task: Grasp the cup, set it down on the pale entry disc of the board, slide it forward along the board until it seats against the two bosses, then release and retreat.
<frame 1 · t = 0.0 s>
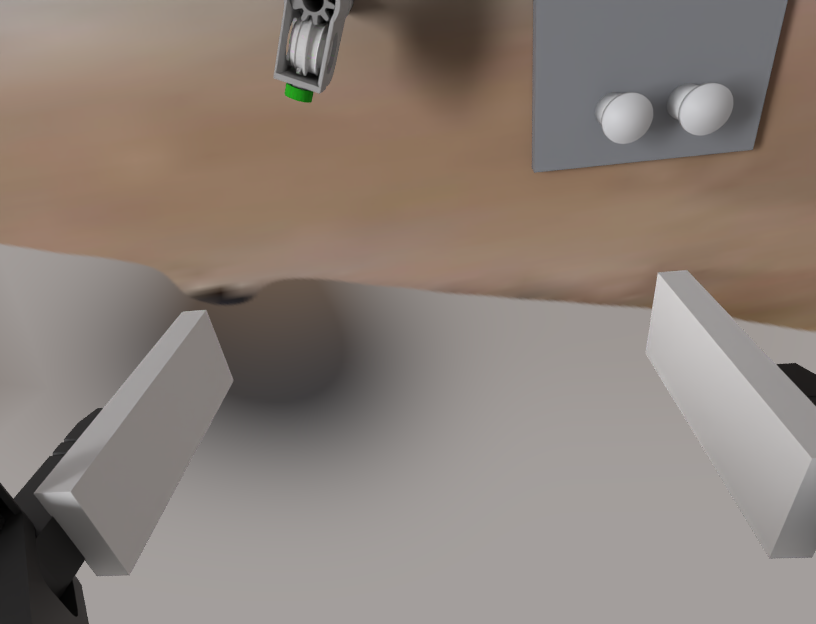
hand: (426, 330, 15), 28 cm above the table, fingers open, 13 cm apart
mechanical component: (342, 0, 35), on the table
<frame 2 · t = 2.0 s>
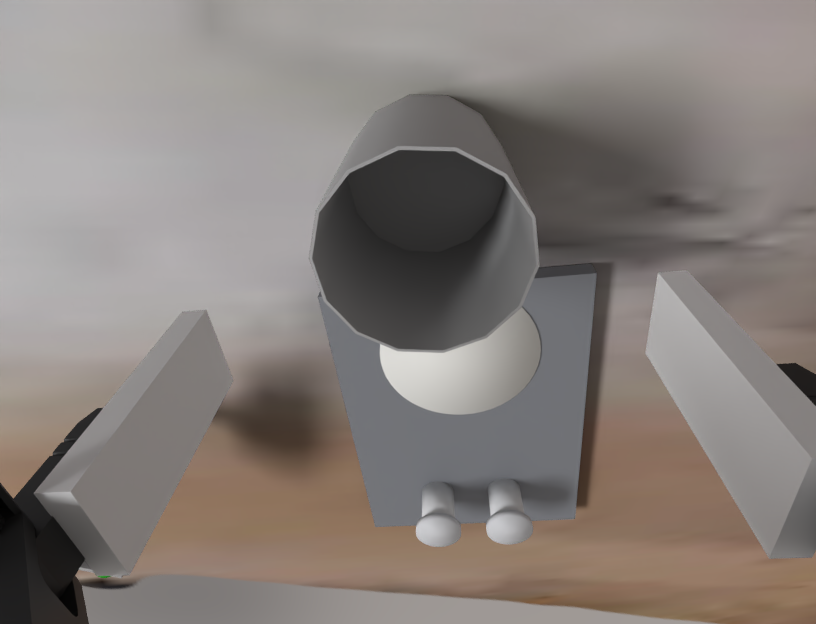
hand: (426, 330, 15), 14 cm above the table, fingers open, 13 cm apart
cup: (425, 176, 27), on the table
board: (464, 411, 36), on the table
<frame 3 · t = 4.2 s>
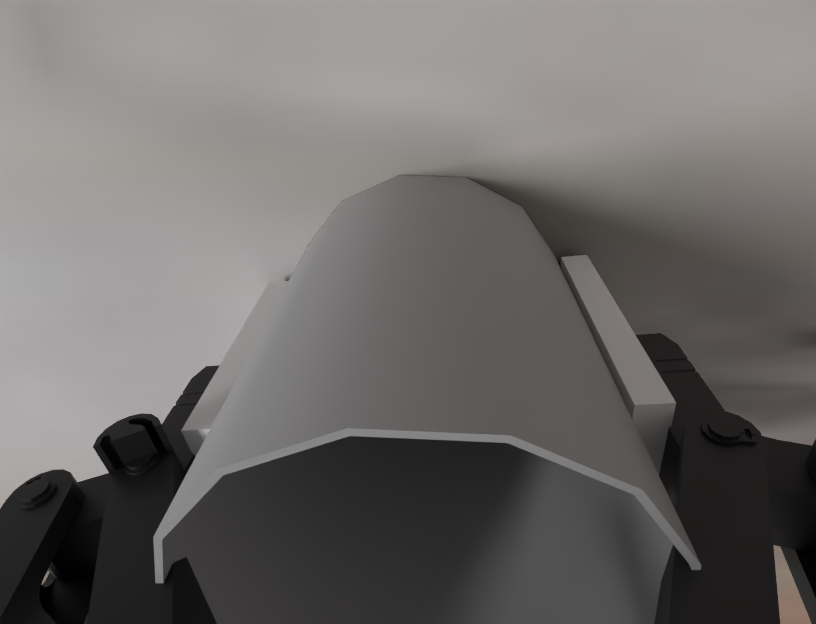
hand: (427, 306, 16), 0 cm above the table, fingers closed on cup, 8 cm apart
cup: (427, 297, 17), on the table, touching gripper
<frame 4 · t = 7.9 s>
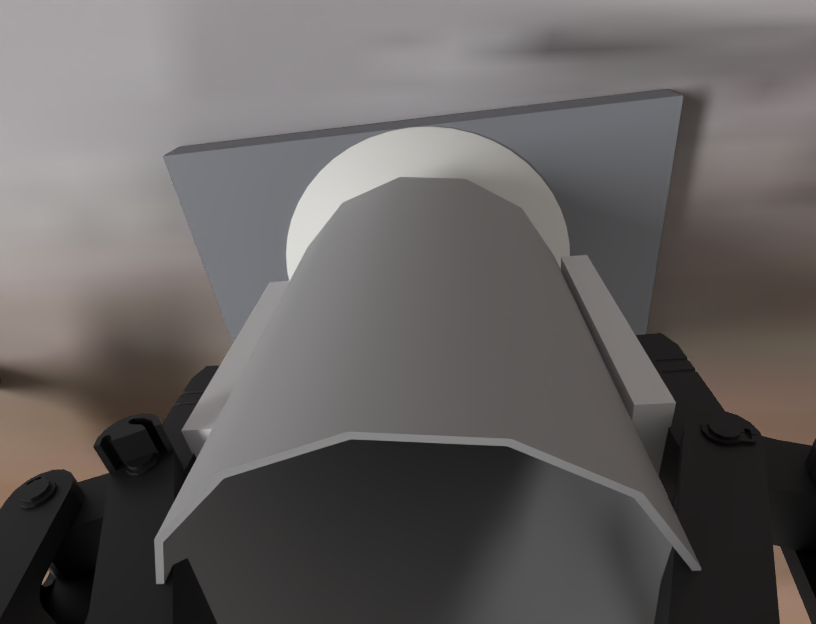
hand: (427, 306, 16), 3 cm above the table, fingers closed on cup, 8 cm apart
cup: (427, 299, 17), point 3 cm above the table, touching gripper
board: (440, 380, 22), on the table
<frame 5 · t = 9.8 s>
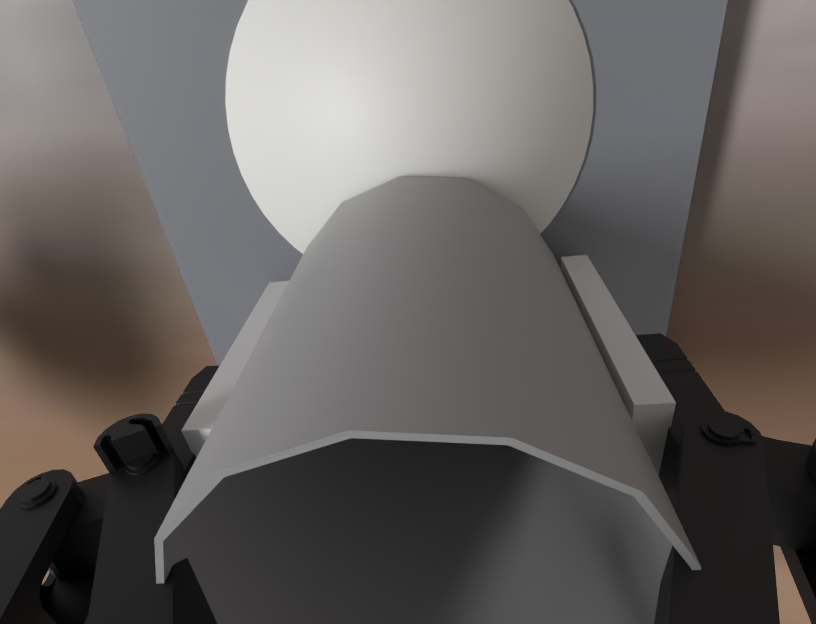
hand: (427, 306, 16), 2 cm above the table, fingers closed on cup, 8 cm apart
cup: (427, 298, 17), point 1 cm above the table, touching gripper
board: (428, 297, 18), on the table
when the fingers open (2 cm above the table, at t = 11.6 s): cup stays where it is, resting on board.
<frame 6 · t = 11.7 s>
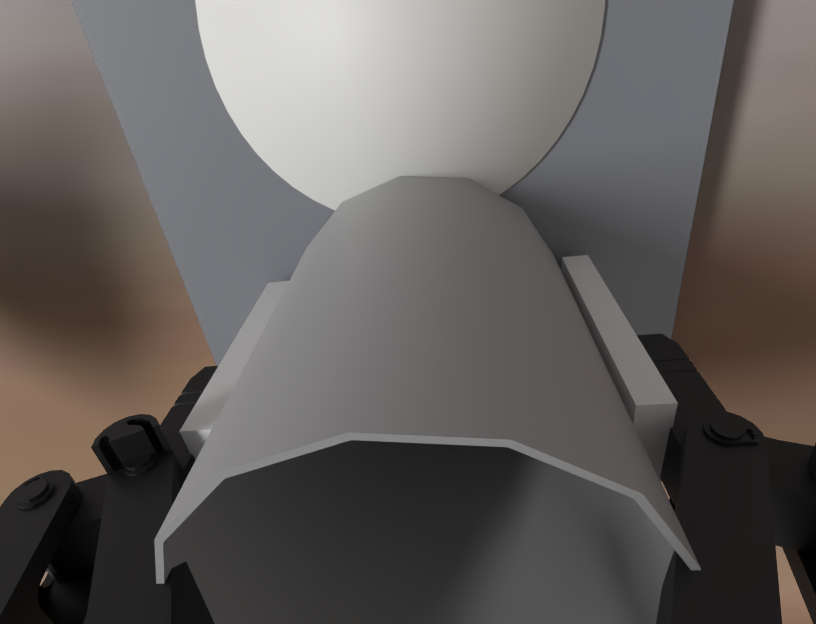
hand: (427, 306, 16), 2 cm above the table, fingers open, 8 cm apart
cup: (427, 298, 17), point 1 cm above the table, touching board
board: (423, 236, 17), on the table
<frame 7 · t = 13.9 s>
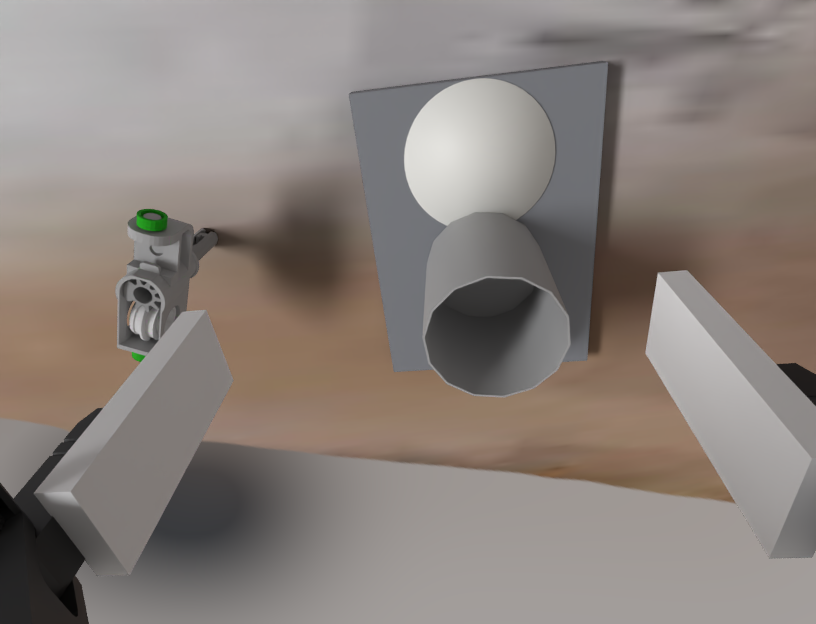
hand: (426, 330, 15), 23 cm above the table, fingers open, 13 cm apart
cup: (483, 264, 37), point 1 cm above the table, touching board
mechanical component: (208, 236, 39), on the table
board: (481, 237, 37), on the table
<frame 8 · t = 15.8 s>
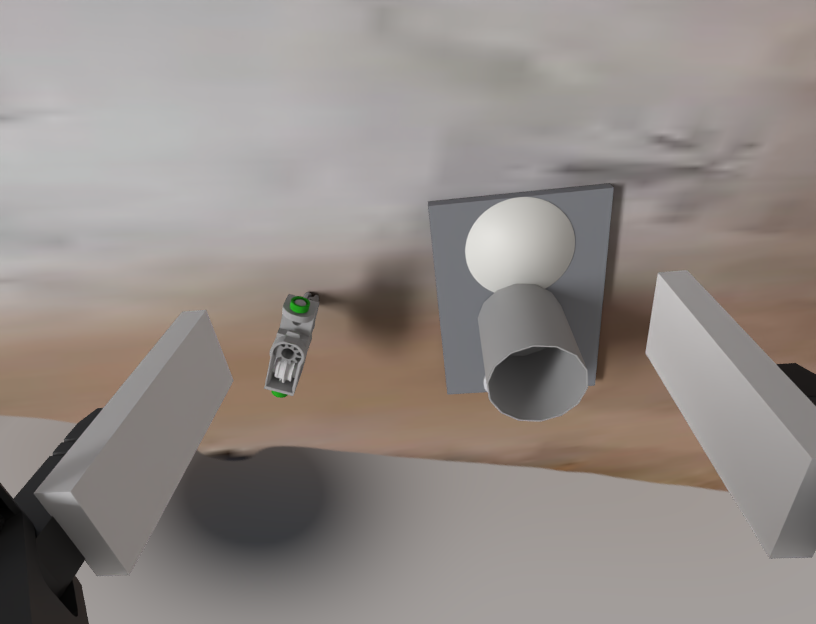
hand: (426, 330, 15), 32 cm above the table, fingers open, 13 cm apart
cup: (519, 318, 50), point 1 cm above the table, touching board
mechanical component: (311, 297, 52), on the table
board: (517, 298, 50), on the table
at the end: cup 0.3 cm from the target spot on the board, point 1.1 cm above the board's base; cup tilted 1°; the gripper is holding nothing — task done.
